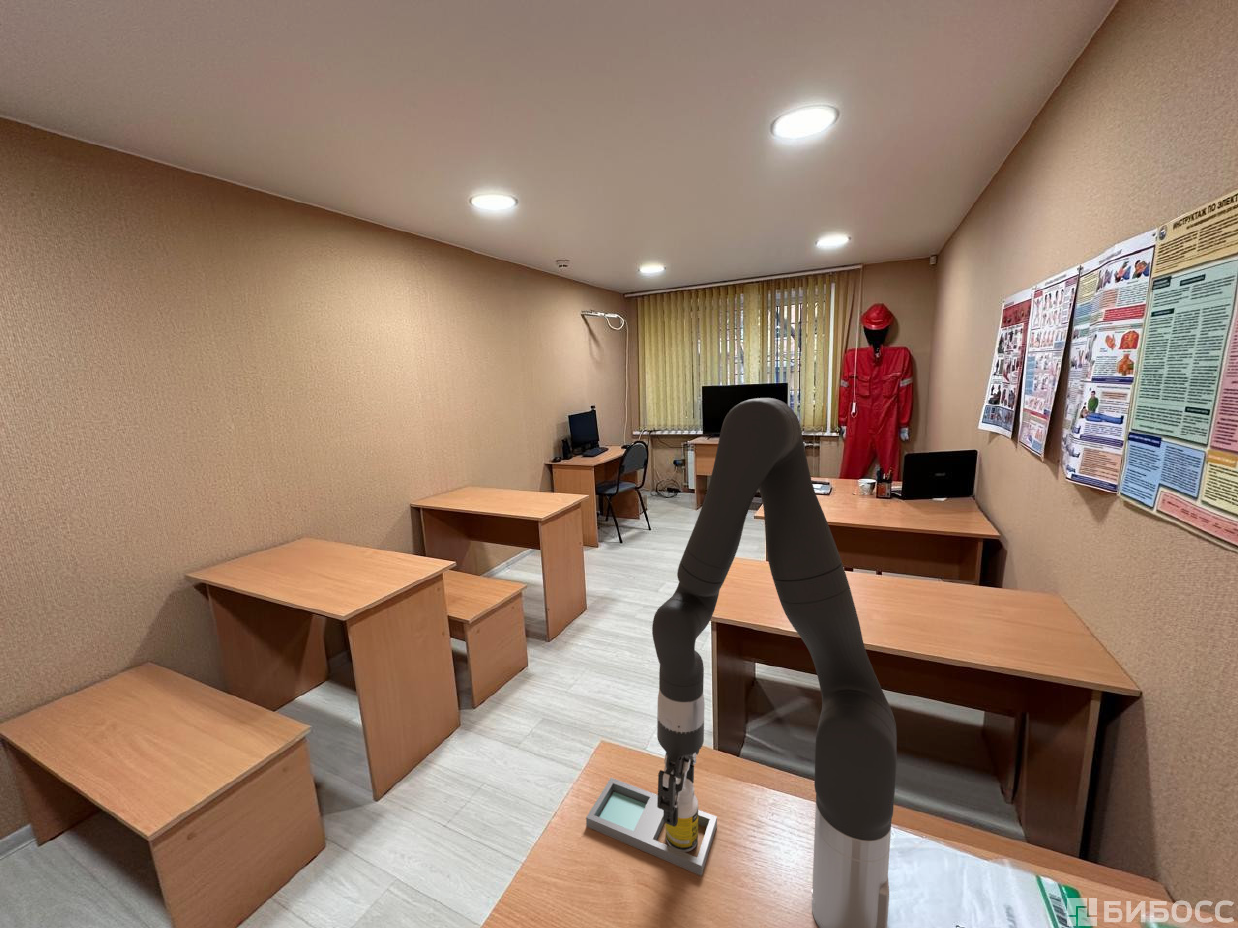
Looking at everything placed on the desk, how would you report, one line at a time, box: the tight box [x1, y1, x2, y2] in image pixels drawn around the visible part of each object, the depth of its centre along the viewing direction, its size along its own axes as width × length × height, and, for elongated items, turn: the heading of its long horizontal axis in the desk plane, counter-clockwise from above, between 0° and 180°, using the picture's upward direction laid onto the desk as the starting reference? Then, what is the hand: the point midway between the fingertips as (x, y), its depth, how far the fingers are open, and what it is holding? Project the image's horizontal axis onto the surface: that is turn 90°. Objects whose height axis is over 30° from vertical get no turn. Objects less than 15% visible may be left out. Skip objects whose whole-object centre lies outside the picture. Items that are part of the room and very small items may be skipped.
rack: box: [585, 777, 718, 877], centre depth 82 cm, size 20×10×2 cm, turn 64°
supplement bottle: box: [665, 778, 699, 853], centre depth 79 cm, size 5×5×10 cm
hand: (679, 802), depth 79 cm, fingers open, 8 cm apart
